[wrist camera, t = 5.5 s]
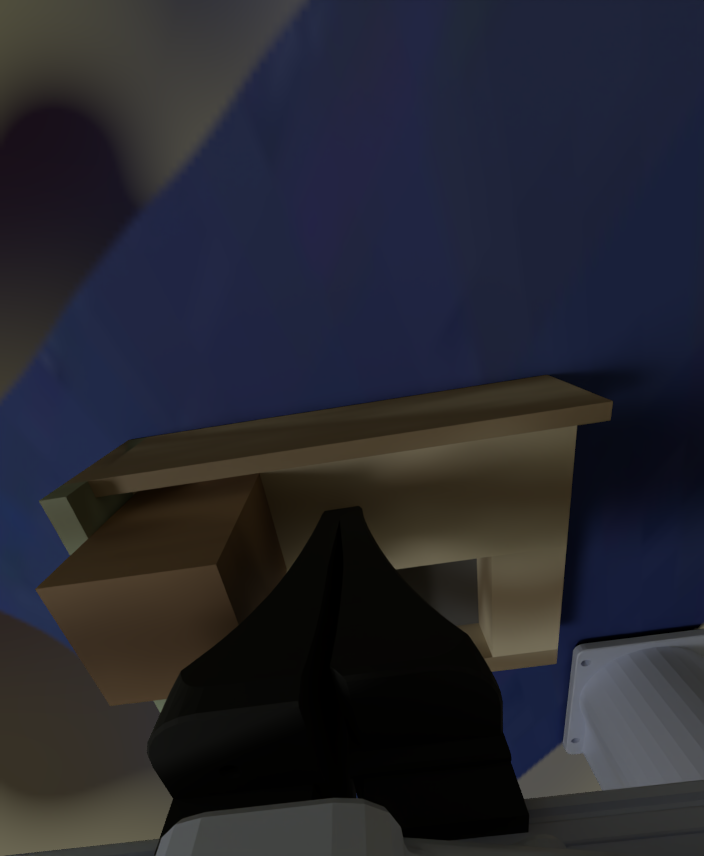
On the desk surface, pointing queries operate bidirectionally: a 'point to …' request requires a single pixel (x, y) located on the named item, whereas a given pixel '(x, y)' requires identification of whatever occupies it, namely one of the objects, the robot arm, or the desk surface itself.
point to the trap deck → (398, 494)
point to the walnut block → (165, 582)
